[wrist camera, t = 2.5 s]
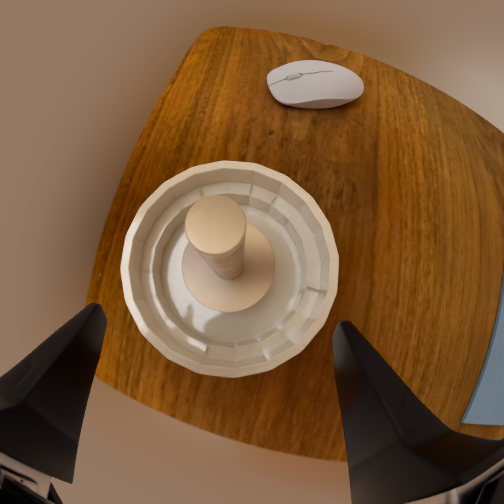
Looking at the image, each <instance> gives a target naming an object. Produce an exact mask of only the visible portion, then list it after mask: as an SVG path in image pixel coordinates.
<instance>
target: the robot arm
mask: <svg viewBox="0 0 504 504" xmlns="http://www.w3.org/2000/svg"><path fill="white" fill-rule="evenodd" d="M106 326H107V318H106V315H105V313H104V310H103V308H102V306H101V305H100V304H96V303H91V304H89V305H88V306H87V307H85V308H84V309H83V310H82V311H80V312H79V313H78V314H77V315H75V316H74V317H73V318H72V319H70V320H69V321H68V322H67V323H65V324H64V325H63V326H62V327H60V328H59V329H58V330H57V331H56V332H54V333H53V334H52V335H51V336H50V337H48V338H47V339H46V340H45V341H44V342H43V343H41V344H40V345H39V346H38V347H37V348H36V349H34V350H33V351H32V353H30V354H29V355H28V356H26V357H25V358H24V359H23V360H22V361H21V362H19V363H18V364H17V365H16V366H14V367H13V368H12V369H10V370H9V371H8V372H7V373H5V374H4V375H3V376H1V377H0V504H63V503H62V501H61V499H60V497H59V496H58V494H57V492H56V490H55V488H54V487H53V485H52V483H51V477H54V478H57V479H59V480H62V481H65V482H68V483H70V484H72V482H73V476H74V468H75V461H76V455H77V449H78V442H79V438H80V432H81V427H82V423H83V418H84V414H85V410H86V405H87V401H88V397H89V393H90V389H91V386H92V382H93V379H94V375H95V372H96V368H97V365H98V361H99V358H100V354H101V349H102V344H103V339H104V335H105V330H106ZM332 343H333V357H334V372H335V380H336V386H337V392H338V397H339V404H340V410H341V416H342V423H343V430H344V437H345V444H346V452H347V460H348V468H349V478H350V488H351V499H352V504H504V438H503V439H501V440H489V439H484V438H480V437H475V436H471V435H466V434H462V433H458V432H455V431H453V430H451V429H450V428H448V427H447V426H446V425H445V424H444V423H443V422H442V421H440V420H439V419H438V418H437V417H436V416H435V415H434V414H433V413H432V412H431V411H430V410H429V409H428V408H427V407H426V406H425V405H424V404H423V403H422V402H421V401H420V400H419V399H418V398H417V397H416V396H415V395H414V393H413V392H412V391H411V390H410V389H409V388H408V387H407V385H405V383H404V382H403V381H402V380H401V378H400V377H399V376H398V375H397V374H396V373H395V372H394V370H393V369H392V368H391V367H390V366H389V365H388V363H387V362H386V361H385V360H384V359H383V358H382V357H381V355H380V354H379V353H378V352H377V351H376V350H375V349H374V348H373V346H372V345H371V344H370V343H369V342H368V341H367V340H366V339H365V337H364V336H363V335H362V334H361V333H360V332H359V331H358V330H357V328H356V327H355V326H354V325H353V324H352V323H351V322H350V321H339V322H338V324H337V326H336V329H335V331H334V333H333V337H332Z"/></svg>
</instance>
